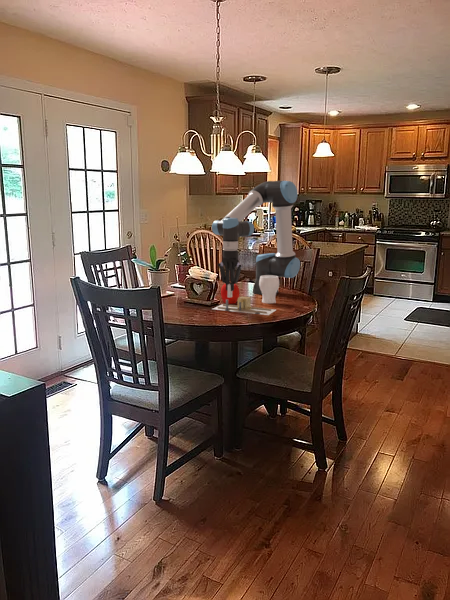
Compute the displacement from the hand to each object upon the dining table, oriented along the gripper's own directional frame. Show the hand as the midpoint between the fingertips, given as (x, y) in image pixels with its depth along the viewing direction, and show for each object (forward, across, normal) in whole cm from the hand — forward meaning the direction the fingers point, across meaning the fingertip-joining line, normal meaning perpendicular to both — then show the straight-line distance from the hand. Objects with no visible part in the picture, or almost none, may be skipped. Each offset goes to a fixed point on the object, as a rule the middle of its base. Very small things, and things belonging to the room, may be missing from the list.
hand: (229, 296), depth 252 cm
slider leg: (+6, +8, -1) cm, 10 cm away
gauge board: (+7, +8, 0) cm, 10 cm away
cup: (+7, +13, +22) cm, 27 cm away
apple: (+7, -5, +12) cm, 15 cm away
